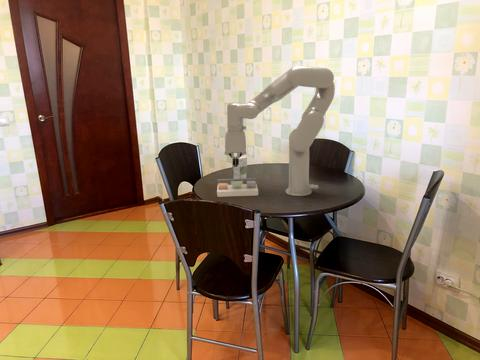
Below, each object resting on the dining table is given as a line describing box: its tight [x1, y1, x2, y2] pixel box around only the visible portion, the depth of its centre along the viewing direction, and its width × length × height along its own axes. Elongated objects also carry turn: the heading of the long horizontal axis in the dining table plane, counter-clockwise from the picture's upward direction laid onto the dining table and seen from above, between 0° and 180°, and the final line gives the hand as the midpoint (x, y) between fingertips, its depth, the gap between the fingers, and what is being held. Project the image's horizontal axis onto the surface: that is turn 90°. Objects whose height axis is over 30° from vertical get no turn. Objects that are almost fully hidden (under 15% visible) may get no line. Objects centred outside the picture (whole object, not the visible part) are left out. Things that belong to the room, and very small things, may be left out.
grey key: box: [246, 180, 257, 186], centre depth 188 cm, size 5×5×2 cm
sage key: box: [232, 181, 242, 187], centre depth 187 cm, size 5×5×2 cm
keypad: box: [216, 177, 259, 198], centre depth 189 cm, size 20×14×5 cm
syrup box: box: [231, 155, 248, 179], centre depth 204 cm, size 6×6×14 cm
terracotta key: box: [218, 183, 228, 189], centre depth 187 cm, size 5×5×2 cm
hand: (235, 166), depth 185 cm, fingers closed
